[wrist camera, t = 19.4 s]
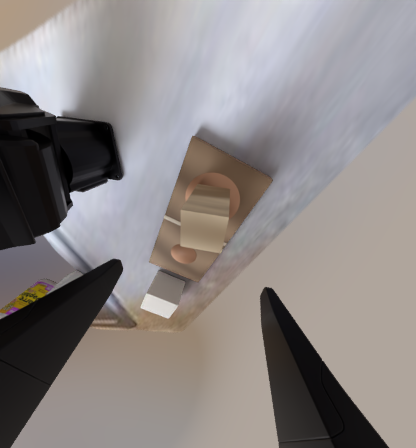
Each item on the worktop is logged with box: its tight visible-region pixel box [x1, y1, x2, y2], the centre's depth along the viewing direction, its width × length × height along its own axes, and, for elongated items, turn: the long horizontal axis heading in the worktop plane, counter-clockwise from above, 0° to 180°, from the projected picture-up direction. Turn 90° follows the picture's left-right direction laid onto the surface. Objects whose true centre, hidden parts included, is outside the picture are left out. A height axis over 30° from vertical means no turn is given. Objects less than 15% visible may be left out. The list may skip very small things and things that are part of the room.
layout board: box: [149, 136, 273, 282], centre depth 22 cm, size 22×10×1 cm, turn 155°
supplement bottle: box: [0, 279, 57, 319], centre depth 35 cm, size 7×7×13 cm
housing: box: [141, 271, 185, 319], centre depth 30 cm, size 6×6×5 cm
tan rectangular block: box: [180, 184, 230, 253], centre depth 16 cm, size 4×4×7 cm
